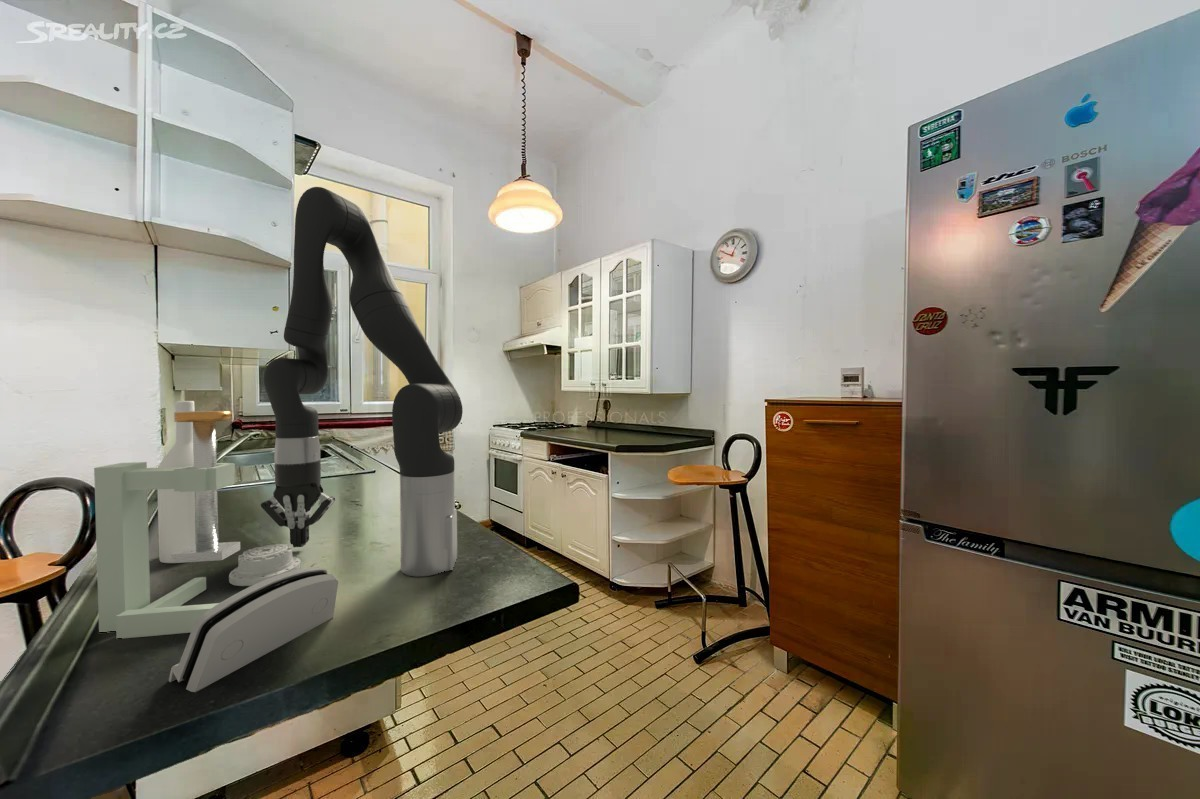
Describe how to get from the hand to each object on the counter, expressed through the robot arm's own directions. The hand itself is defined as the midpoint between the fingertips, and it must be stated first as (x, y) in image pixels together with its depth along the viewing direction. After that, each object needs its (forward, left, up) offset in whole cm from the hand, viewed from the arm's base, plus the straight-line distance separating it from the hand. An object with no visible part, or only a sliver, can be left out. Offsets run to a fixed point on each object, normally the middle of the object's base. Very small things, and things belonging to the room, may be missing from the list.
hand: (299, 545), depth 87 cm
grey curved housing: (-12, +35, -1) cm, 37 cm away
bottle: (+20, -1, -1) cm, 20 cm away
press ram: (0, +26, +8) cm, 27 cm away
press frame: (+2, +23, -1) cm, 23 cm away
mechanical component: (0, +11, -2) cm, 11 cm away
